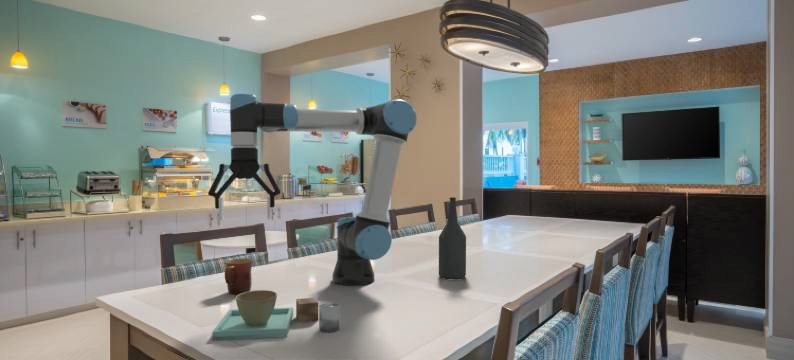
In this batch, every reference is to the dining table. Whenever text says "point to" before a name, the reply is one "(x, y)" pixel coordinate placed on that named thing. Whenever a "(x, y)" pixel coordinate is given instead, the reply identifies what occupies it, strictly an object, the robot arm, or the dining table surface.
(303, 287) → the dining table surface
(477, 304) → the dining table surface
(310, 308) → the walnut block
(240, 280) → the mug
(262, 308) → the flower pot
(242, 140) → the robot arm
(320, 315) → the grey tin
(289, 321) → the tray
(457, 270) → the bottle
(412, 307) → the dining table surface
